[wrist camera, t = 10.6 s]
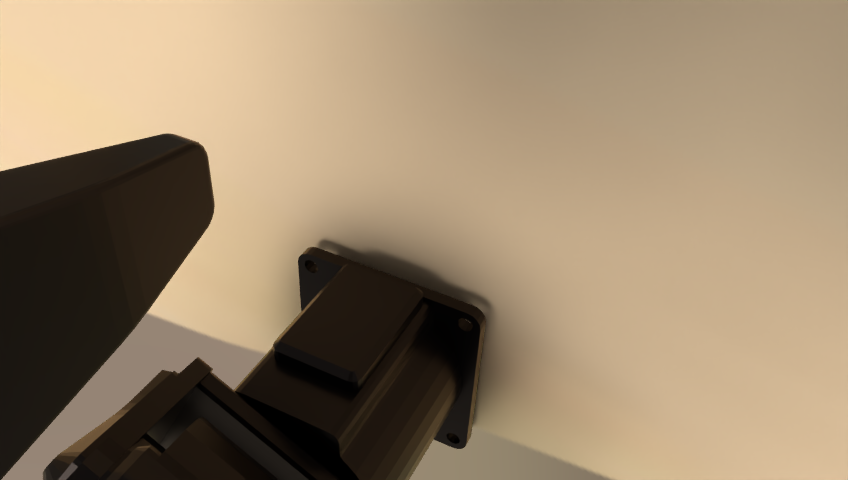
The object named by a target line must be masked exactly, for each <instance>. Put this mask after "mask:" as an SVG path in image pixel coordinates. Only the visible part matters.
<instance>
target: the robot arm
mask: <svg viewBox="0 0 848 480" xmlns="http://www.w3.org/2000/svg"><path fill="white" fill-rule="evenodd" d="M213 213H214V196H213V189H212V182H211V175H210V168H209V161H208V156H207V152H206V151H205V149H204V147H203V146H202V145H201V144H199V143H198V142H196V141H193V140H190V139H187V138H184V137H181V136H178V135H175V134H161V135H157V136H153V137H148V138H144V139H140V140H135V141H131V142H126V143H122V144H118V145H113V146H109V147H105V148H100V149H96V150H92V151H87V152H83V153H78V154H74V155H70V156H65V157H61V158H57V159H52V160H48V161H44V162H39V163H35V164H30V165H26V166H22V167H17V168H13V169H9V170H4V171H0V480H1V479H2V478H3V476H5V475H6V473H7V472H8V471H9V470H10V469H11V468H12V467H13V465H14V464H15V463H16V462H17V461H18V460H19V459H20V458H21V456H22V455H23V454H24V453H25V452H26V451H27V450H28V449H29V447H30V446H31V445H32V444H33V443H34V442H35V441H36V439H37V438H38V437H39V436H40V435H41V434H42V433H43V432H44V431H45V429H46V428H47V427H48V426H49V425H50V424H51V423H52V422H53V420H54V419H55V418H56V417H57V416H58V415H59V413H61V411H62V410H63V409H64V408H65V407H66V406H67V405H68V404H69V402H70V401H71V400H72V399H73V398H74V397H75V396H76V395H77V393H78V392H79V391H80V390H81V389H82V388H83V387H84V385H85V384H86V383H87V382H88V380H90V379H91V378H92V376H93V375H94V374H95V373H96V372H97V371H98V370H99V369H100V367H101V366H102V365H103V364H104V363H105V362H106V361H107V360H108V358H109V357H110V356H111V355H112V354H113V353H114V352H115V350H116V349H117V348H118V347H119V346H120V345H121V344H122V343H123V341H124V340H125V339H126V338H127V337H128V335H129V334H130V333H131V332H132V331H133V329H134V328H135V327H136V326H137V324H138V323H139V322H140V320H141V319H142V318H143V317H144V315H145V314H146V313H147V311H148V310H149V309H150V307H151V306H152V304H153V303H154V302H155V300H156V299H157V297H158V296H159V295H160V293H161V292H162V290H163V289H164V288H165V286H166V285H167V283H168V282H169V281H170V279H171V278H172V277H173V275H174V274H175V272H176V271H177V270H178V268H179V267H180V265H181V264H182V263H183V261H184V260H185V258H186V257H187V256H188V254H189V253H190V251H191V250H192V249H193V247H194V246H195V245H196V243H197V242H198V240H199V239H200V238H201V236H202V235H203V233H204V232H205V231H206V229H207V228H208V226H209V224H210V222H211V220H212V217H213ZM298 266H299V281H300V296H301V311H302V312H301V313H300V314H299V315H298V316H297V317H296V319H295V320H294V321H293V322H292V323H291V324H290V325H289V326H288V327H287V329H286V330H285V331H284V332H283V333H282V334H281V335H280V336H279V337H278V338H277V340H276V341H275V342H274V345H273V347H272V348H271V350H270V351H269V352H268V353H267V354H266V355H265V356H264V357H263V358H262V360H261V361H260V362H259V363H258V364H257V365H256V366H255V367H254V368H253V370H252V371H251V372H250V373H249V374H248V375H247V376H246V377H245V378H244V380H243V381H242V382H241V383H240V384H239V385H238V386H237V387H236V388H235V390H232V389H231V388H230V387H229V386H228V385H226V384H225V383H224V382H223V381H222V380H220V379H219V378H218V377H217V376H216V375H214V374H213V373H212V370H213V369H212V368H211V367H210V366H209V365H207V364H206V363H205V362H204V361H203V360H201V359H200V358H199V357H198V358H197V359H195V360H194V361H193V362H192V363H191V364H190V365H188V366H187V367H186V368H185V369H184V370H183V371H182V372H180V373H176V372H175V371H173V372H169V371H164V370H162V371H161V372H160V373H159V374H158V375H157V376H156V377H155V378H154V379H153V380H152V381H151V382H150V383H149V384H147V386H145V387H144V389H142V391H140V393H138V394H137V395H136V396H135V397H134V398H133V399H132V400H131V401H130V402H129V403H128V404H127V405H125V406H124V407H123V408H122V409H121V410H120V411H118V412H117V413H116V414H115V415H113V416H112V417H111V418H109V419H108V420H106V421H105V422H104V423H102V424H101V425H99V426H98V427H96V428H95V429H94V430H92V431H91V432H90V433H88V434H87V435H85V436H84V437H83V438H81V439H80V440H78V441H77V442H76V443H74V444H73V445H71V446H70V447H69V448H67V449H66V450H64V451H63V452H61V453H60V454H59V455H58V456H57V457H56V458H55V459H54V460H53V461H52V462H51V463H50V464H49V465H48V466H47V467H46V469H45V470H44V472H43V480H409V479H410V477H411V475H412V474H413V472H414V471H415V469H416V467H417V466H418V464H419V462H420V461H421V459H422V457H423V455H424V454H425V452H426V451H427V449H428V447H429V446H430V444H431V442H432V441H433V439H434V440H437V441H439V442H441V443H444V444H446V445H448V446H451V447H453V448H457V449H462V448H464V447H465V446H466V444H467V442H468V440H469V439H470V437H471V431H472V424H473V416H474V409H475V401H476V394H477V386H478V378H479V371H480V363H481V355H482V348H483V340H484V333H485V325H486V320H485V316H484V314H483V313H482V312H481V311H480V310H479V309H478V308H477V307H475V306H473V305H471V304H468V303H465V302H463V301H460V300H457V299H454V298H452V297H449V296H446V295H444V294H441V293H438V292H435V291H433V290H430V289H427V288H425V287H422V286H419V285H416V284H414V283H411V282H408V281H406V280H403V279H400V278H397V277H395V276H392V275H389V274H387V273H384V272H381V271H379V270H376V269H373V268H370V267H368V266H365V265H362V264H360V263H357V262H354V261H351V260H349V259H346V258H343V257H341V256H338V255H335V254H332V253H330V252H327V251H324V250H322V249H319V248H315V247H310V248H308V249H307V250H306V251H305V252H304V253H303V254H302V255H301V256H300V257H299V260H298ZM465 319H467V320H469V321H470V322H471V323H469V322H468V321H466V320H465Z"/></svg>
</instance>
